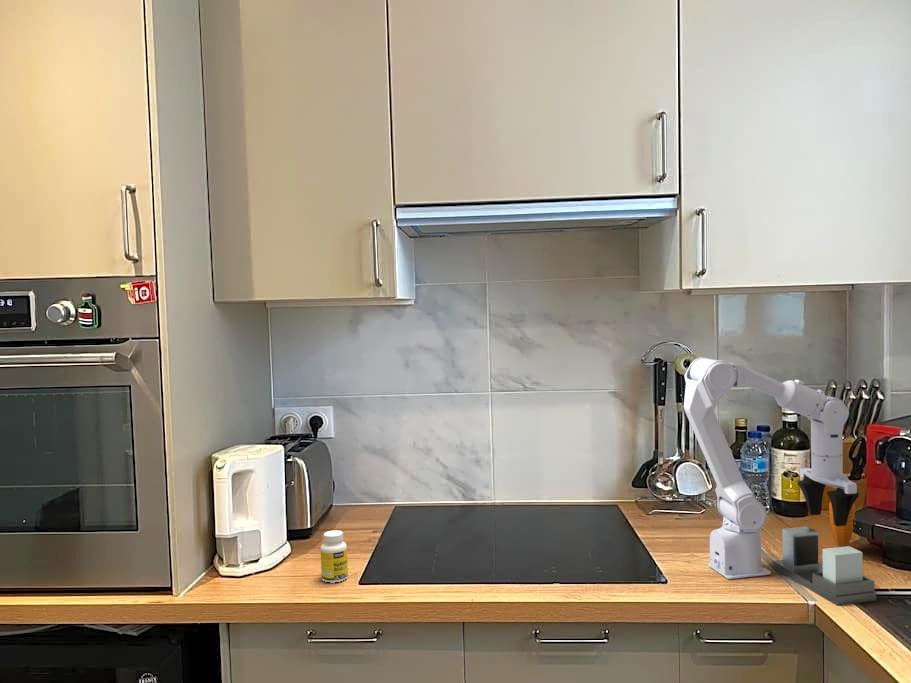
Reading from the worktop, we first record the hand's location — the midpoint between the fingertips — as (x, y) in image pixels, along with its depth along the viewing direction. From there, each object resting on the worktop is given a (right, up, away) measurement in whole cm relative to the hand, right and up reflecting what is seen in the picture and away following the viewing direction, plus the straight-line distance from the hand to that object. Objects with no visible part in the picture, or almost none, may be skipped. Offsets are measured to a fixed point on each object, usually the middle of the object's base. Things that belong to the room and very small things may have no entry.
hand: (827, 519), depth 148 cm
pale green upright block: (-5, -9, -15) cm, 18 cm away
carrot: (+7, -9, +8) cm, 14 cm away
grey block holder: (-6, -10, -9) cm, 14 cm away
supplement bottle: (-101, -13, +3) cm, 102 cm away
